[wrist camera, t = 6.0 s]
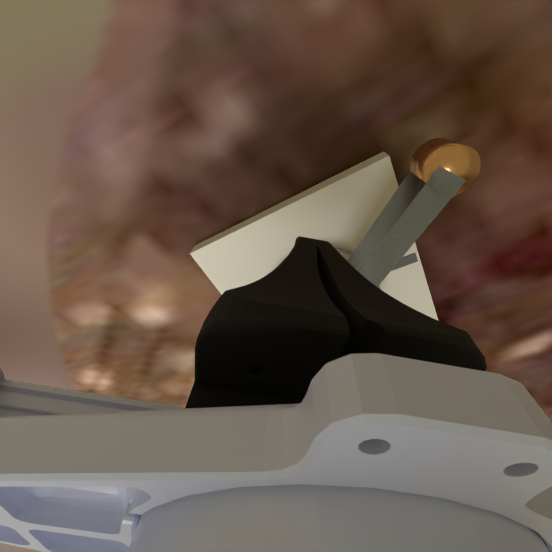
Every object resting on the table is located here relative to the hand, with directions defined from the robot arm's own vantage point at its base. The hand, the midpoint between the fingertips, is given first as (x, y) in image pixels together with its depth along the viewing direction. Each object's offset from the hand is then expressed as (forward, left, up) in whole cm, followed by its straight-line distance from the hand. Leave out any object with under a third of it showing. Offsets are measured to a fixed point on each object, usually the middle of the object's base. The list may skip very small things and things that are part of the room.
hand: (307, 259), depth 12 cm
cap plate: (-8, +2, -10) cm, 13 cm away
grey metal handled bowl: (-6, -1, -9) cm, 10 cm away
